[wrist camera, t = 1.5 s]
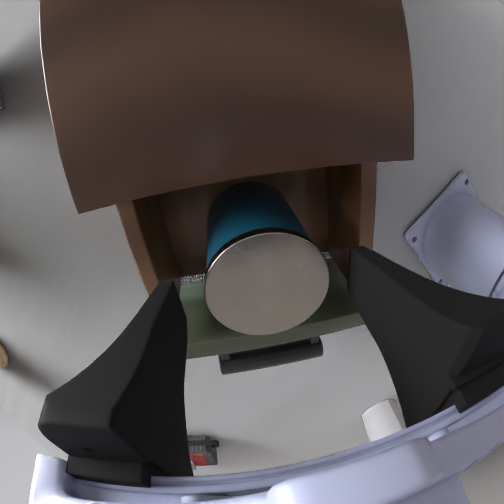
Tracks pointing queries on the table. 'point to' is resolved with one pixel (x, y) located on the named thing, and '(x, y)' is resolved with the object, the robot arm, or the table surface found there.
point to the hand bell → (3, 357)
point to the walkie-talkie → (202, 451)
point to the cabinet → (221, 90)
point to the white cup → (383, 420)
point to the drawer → (195, 257)
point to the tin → (261, 262)
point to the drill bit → (1, 102)
